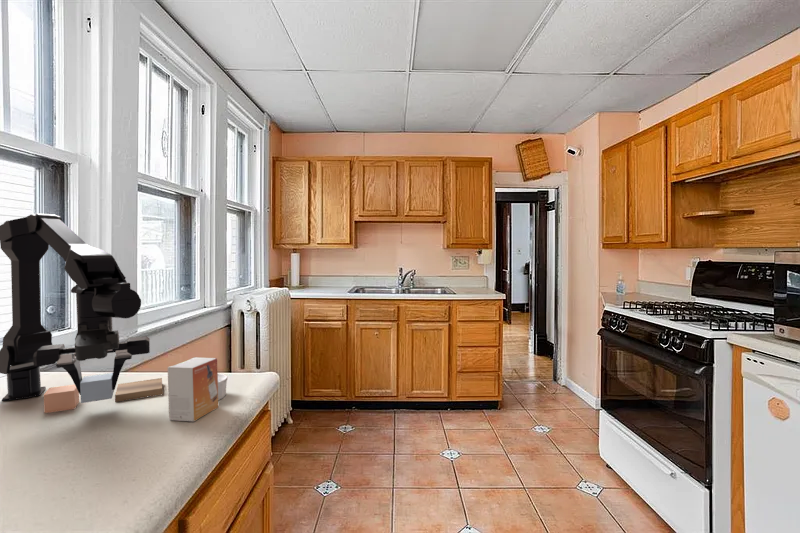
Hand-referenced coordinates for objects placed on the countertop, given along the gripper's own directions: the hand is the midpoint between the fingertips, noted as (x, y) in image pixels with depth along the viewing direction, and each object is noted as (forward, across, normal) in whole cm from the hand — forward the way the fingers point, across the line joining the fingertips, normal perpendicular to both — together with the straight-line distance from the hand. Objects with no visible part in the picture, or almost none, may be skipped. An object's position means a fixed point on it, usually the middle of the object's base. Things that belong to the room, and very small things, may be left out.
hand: (97, 391), depth 86 cm
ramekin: (+5, +20, -2) cm, 21 cm away
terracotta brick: (+4, -7, +8) cm, 12 cm away
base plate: (+4, +7, +10) cm, 13 cm away
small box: (+4, +17, -11) cm, 21 cm away
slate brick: (+1, 0, 0) cm, 1 cm away
